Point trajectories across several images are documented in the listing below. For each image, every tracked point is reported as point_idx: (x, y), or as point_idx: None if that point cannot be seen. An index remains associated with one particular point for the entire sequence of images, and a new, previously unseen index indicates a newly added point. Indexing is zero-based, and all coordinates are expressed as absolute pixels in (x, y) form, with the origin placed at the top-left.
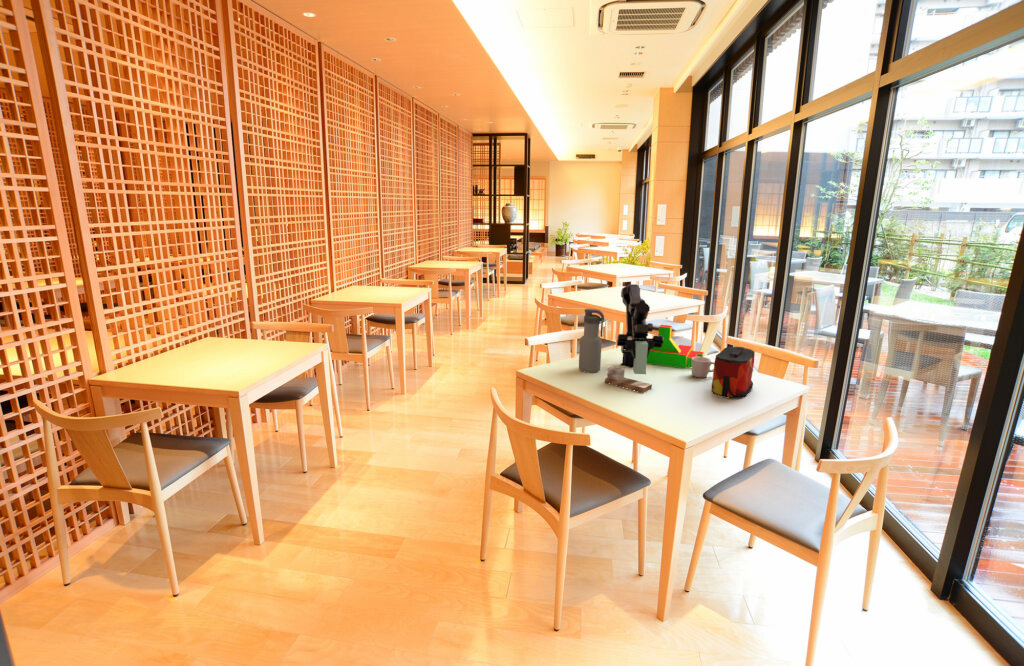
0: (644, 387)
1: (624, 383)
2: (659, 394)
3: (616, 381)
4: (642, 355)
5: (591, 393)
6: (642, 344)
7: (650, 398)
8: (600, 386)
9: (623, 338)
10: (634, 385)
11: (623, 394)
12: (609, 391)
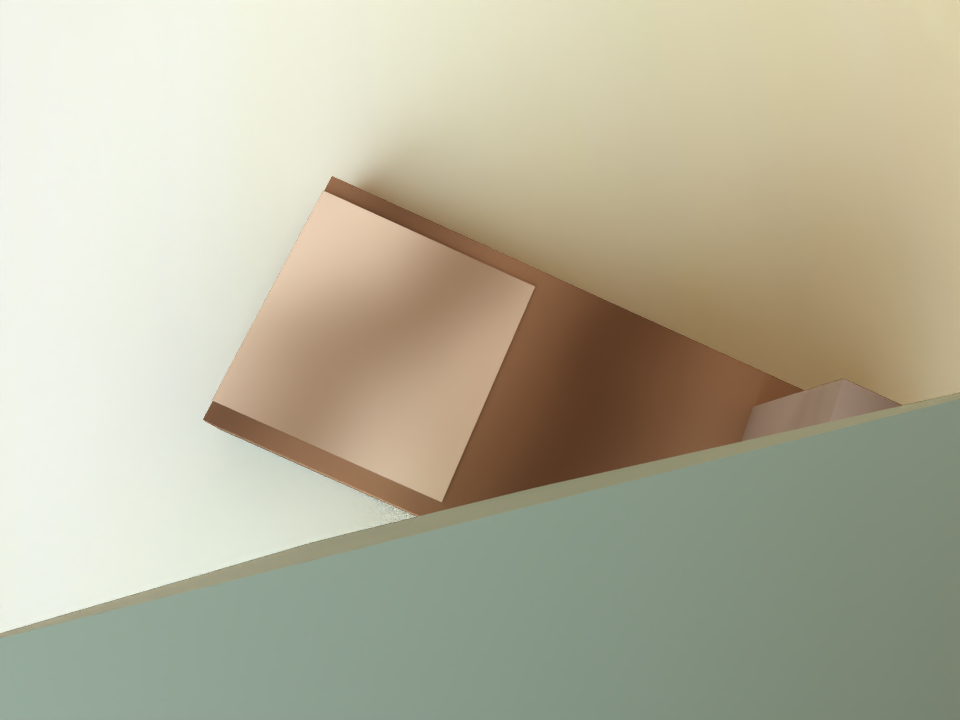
0: (319, 211)
1: (633, 313)
2: (103, 230)
3: (761, 373)
4: (430, 516)
5: (925, 18)
6: (595, 496)
7: (231, 42)
8: (908, 296)
9: None
10: (476, 259)
11: (578, 88)
12: (758, 144)
